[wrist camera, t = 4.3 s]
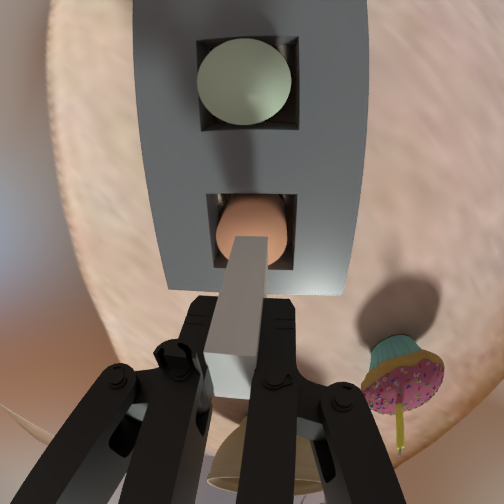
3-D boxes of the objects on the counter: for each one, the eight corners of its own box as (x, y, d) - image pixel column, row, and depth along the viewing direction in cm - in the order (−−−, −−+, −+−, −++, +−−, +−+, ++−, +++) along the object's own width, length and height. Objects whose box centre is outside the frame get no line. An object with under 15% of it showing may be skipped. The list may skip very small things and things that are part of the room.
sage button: (212, 51, 13) (195, 42, 10) (287, 48, 12) (290, 38, 9) (215, 118, 15) (199, 127, 12) (288, 117, 14) (291, 125, 11)
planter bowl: (251, 385, 31) (242, 471, 22) (351, 413, 34) (357, 482, 25) (201, 423, 39) (189, 483, 30) (286, 445, 42) (284, 499, 33)
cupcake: (342, 371, 28) (353, 473, 18) (373, 316, 24) (404, 440, 14) (407, 371, 28) (428, 461, 18) (444, 321, 24) (484, 422, 13)
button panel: (157, -66, 8) (140, -82, 6) (342, -75, 7) (351, -95, 5) (180, 265, 22) (168, 289, 20) (336, 269, 21) (342, 295, 19)
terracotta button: (224, 184, 18) (213, 206, 15) (286, 185, 18) (288, 207, 15) (228, 238, 20) (219, 267, 18) (284, 239, 20) (285, 269, 17)
